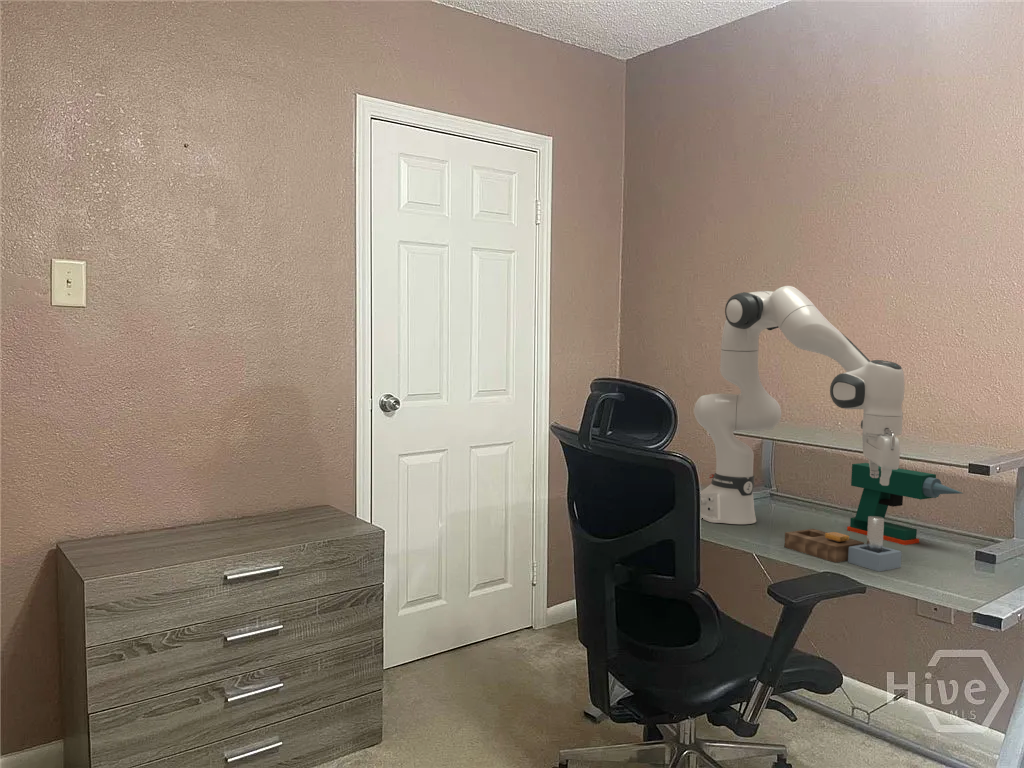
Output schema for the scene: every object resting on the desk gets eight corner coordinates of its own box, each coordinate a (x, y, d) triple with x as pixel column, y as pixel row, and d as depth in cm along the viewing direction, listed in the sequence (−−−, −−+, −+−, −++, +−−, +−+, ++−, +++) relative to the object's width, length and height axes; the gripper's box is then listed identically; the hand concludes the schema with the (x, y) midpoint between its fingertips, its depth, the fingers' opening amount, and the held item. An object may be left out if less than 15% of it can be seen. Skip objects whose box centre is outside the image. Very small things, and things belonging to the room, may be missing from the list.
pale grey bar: (864, 564, 193) (866, 517, 192) (868, 562, 196) (870, 515, 195) (879, 567, 190) (881, 519, 190) (883, 564, 193) (885, 517, 193)
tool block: (784, 547, 208) (785, 532, 208) (811, 542, 213) (812, 528, 213) (835, 562, 194) (836, 546, 194) (863, 557, 199) (864, 542, 199)
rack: (847, 562, 195) (848, 546, 194) (869, 558, 199) (870, 543, 199) (878, 571, 187) (879, 555, 187) (900, 567, 191) (901, 551, 191)
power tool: (968, 554, 206) (972, 480, 205) (953, 557, 202) (957, 481, 201) (862, 528, 233) (865, 462, 232) (847, 530, 230) (850, 463, 229)
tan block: (824, 552, 201) (825, 533, 201) (833, 551, 203) (834, 531, 203) (839, 557, 197) (840, 537, 197) (848, 555, 199) (849, 535, 199)
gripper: (908, 432, 180) (905, 490, 181) (885, 421, 200) (881, 474, 201) (879, 431, 182) (876, 488, 183) (859, 420, 202) (856, 473, 203)
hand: (879, 481), depth 192 cm, fingers open, 8 cm apart
